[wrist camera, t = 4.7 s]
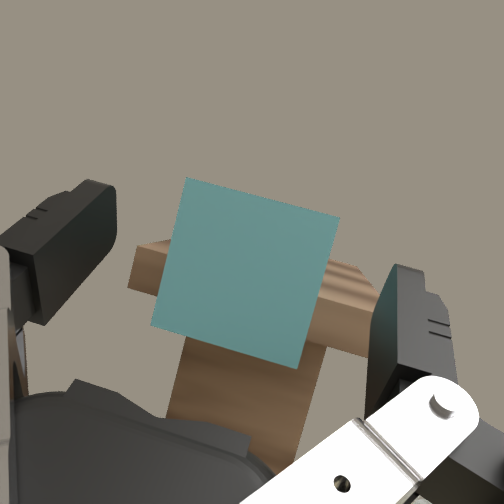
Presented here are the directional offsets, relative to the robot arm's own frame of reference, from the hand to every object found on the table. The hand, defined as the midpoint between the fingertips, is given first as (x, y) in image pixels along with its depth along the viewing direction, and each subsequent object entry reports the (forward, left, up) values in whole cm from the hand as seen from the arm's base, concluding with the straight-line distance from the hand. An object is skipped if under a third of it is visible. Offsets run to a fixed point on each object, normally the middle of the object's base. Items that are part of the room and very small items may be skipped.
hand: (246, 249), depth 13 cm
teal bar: (-8, -6, -2) cm, 10 cm away
